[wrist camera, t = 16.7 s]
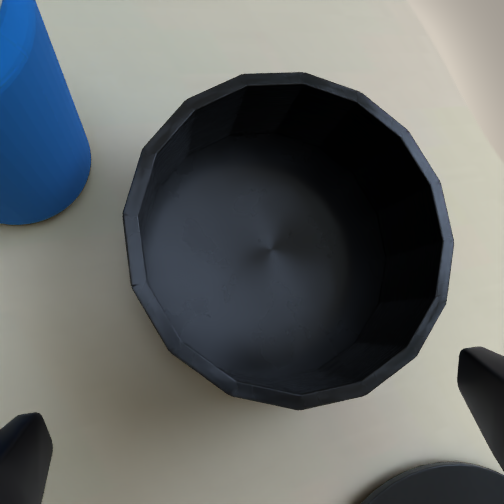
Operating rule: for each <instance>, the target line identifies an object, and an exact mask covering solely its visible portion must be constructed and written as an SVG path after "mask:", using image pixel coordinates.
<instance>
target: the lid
mask: <svg viewBox="0 0 504 504" xmlns="http://www.w3.org/2000/svg"><path fill="white" fill-rule="evenodd" d="M361 504H504V475H502V474H500V473H498V472H496V471H493V470H491V469H489V468H486V467H482V466H479V465H475V464H471V463H463V462H437V463H432V464H427V465H422V466H419V467H416V468H413V469H411V470H408V471H405V472H403V473H401V474H399V475H397V476H396V477H394V478H392V479H390V480H388V481H387V482H386V483H384V484H383V485H381V486H380V487H379V488H377V489H376V490H375V491H373V492H372V493H371V494H370V495H369V496H368V497H367V498H366V499H365V500H364V501H363V502H362V503H361Z"/></svg>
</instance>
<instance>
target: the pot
mask: <svg viewBox="0 0 504 504" xmlns="http://www.w3.org/2000/svg"><path fill="white" fill-rule="evenodd" d="M123 225H124V233H125V241H126V249H127V257H128V265H129V274H130V282H131V286H132V289H133V291H134V293H135V294H136V296H137V298H138V300H139V301H140V303H141V305H142V306H143V308H144V310H145V311H146V313H147V315H148V317H149V318H150V320H151V322H152V323H153V325H154V327H155V328H156V330H157V332H158V334H159V335H160V337H161V339H162V340H163V342H164V344H165V345H166V347H167V349H168V350H169V351H170V352H171V353H172V354H173V355H174V356H176V357H177V358H178V359H180V360H181V361H183V362H184V363H185V364H187V365H188V366H189V367H191V368H192V369H194V370H195V371H196V372H198V373H199V374H200V375H202V376H203V377H205V378H206V379H207V380H209V381H210V382H211V383H213V384H214V385H216V386H217V387H218V388H220V389H221V390H222V391H224V392H225V393H227V394H228V395H230V396H233V397H238V398H242V399H247V400H252V401H256V402H261V403H266V404H271V405H275V406H280V407H285V408H289V409H294V410H304V409H309V408H313V407H318V406H322V405H326V404H331V403H335V402H340V401H344V400H349V399H353V398H358V397H362V396H364V395H367V394H368V393H369V392H371V391H372V390H373V389H375V388H376V387H377V386H379V385H380V384H381V383H383V382H384V381H385V380H386V379H388V378H389V377H390V376H392V375H393V374H394V373H396V372H397V371H398V370H400V369H401V368H402V367H404V366H405V365H406V364H408V363H409V362H410V361H411V360H413V359H414V358H415V357H416V356H417V355H418V353H419V351H420V349H421V348H422V346H423V344H424V342H425V340H426V339H427V337H428V335H429V333H430V332H431V330H432V328H433V326H434V324H435V323H436V321H437V319H438V317H439V315H440V314H441V312H442V310H443V308H444V306H445V305H446V301H447V294H448V286H449V279H450V271H451V263H452V255H453V248H454V239H453V234H452V230H451V226H450V221H449V217H448V212H447V208H446V204H445V199H444V195H443V191H442V186H441V183H440V180H439V179H438V177H437V176H436V174H435V172H434V171H433V169H432V168H431V166H430V164H429V163H428V161H427V160H426V158H425V156H424V155H423V153H422V152H421V150H420V148H419V147H418V145H417V144H416V142H415V140H414V139H413V137H412V136H411V134H410V132H409V131H408V130H407V129H406V128H405V127H403V126H402V125H401V124H400V123H398V122H397V121H396V120H395V119H394V118H392V117H391V116H390V115H389V114H387V113H386V112H385V111H384V110H382V109H381V108H380V107H379V106H377V105H376V104H375V103H374V102H373V101H371V100H370V99H369V98H368V97H366V96H365V95H364V94H363V93H360V92H359V91H356V90H353V89H350V88H348V87H345V86H342V85H339V84H336V83H333V82H331V81H328V80H325V79H322V78H319V77H316V76H313V75H311V74H308V73H303V72H293V73H258V74H241V75H239V76H237V77H235V78H233V79H230V80H228V81H226V82H224V83H222V84H219V85H217V86H215V87H213V88H211V89H208V90H206V91H204V92H202V93H200V94H197V95H195V96H193V97H191V98H188V99H187V100H186V101H184V102H183V104H182V105H181V106H180V107H179V108H178V109H177V110H176V111H175V113H174V114H173V115H172V116H171V117H170V118H169V119H168V120H167V122H166V123H165V124H164V125H163V126H162V127H161V128H160V129H159V131H158V132H157V133H156V134H155V135H154V136H153V137H152V138H151V140H150V141H149V142H148V143H147V144H146V145H145V146H144V148H143V149H142V152H141V155H140V158H139V161H138V165H137V168H136V171H135V174H134V178H133V181H132V184H131V187H130V191H129V194H128V197H127V200H126V204H125V207H124V210H123Z"/></svg>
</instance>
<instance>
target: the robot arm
mask: <svg viewBox="0 0 504 504" xmlns="http://www.w3.org/2000/svg"><path fill="white" fill-rule="evenodd" d="M457 382H458V387H459V390H460V392H461V394H462V396H463V398H464V400H465V402H466V404H467V406H468V407H469V409H470V411H471V413H472V415H473V417H474V419H475V421H476V423H477V425H478V427H479V429H480V431H481V432H482V434H483V436H484V438H485V440H486V442H487V444H488V446H489V448H490V449H491V451H492V453H493V455H494V457H495V458H496V460H497V461H498V463H499V465H500V466H501V468H502V469H503V471H504V356H502V355H500V354H497V353H495V352H493V351H490V350H488V349H486V348H483V347H472V348H465V349H463V350H461V352H460V355H459V364H458V376H457ZM52 452H53V444H52V440H51V437H50V434H49V432H48V429H47V427H46V424H45V422H44V419H43V417H42V415H41V414H40V413H37V412H34V413H28V414H21V415H18V416H16V417H15V418H14V419H13V420H11V421H10V422H9V423H8V424H6V425H5V426H4V427H3V428H2V429H0V504H41V502H42V498H43V493H44V489H45V484H46V480H47V475H48V471H49V466H50V461H51V457H52Z"/></svg>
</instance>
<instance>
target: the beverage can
mask: <svg viewBox="0 0 504 504" xmlns="http://www.w3.org/2000/svg"><path fill="white" fill-rule="evenodd" d="M90 167H91V153H90V147H89V143H88V140H87V137H86V134H85V132H84V129H83V126H82V124H81V121H80V118H79V116H78V113H77V110H76V108H75V105H74V102H73V100H72V97H71V94H70V92H69V89H68V86H67V84H66V81H65V78H64V76H63V73H62V70H61V68H60V65H59V62H58V60H57V57H56V54H55V52H54V49H53V46H52V44H51V41H50V38H49V36H48V33H47V30H46V28H45V25H44V23H43V20H42V17H41V15H40V12H39V9H38V7H37V4H36V1H35V0H0V223H1V224H9V225H22V224H31V223H35V222H40V221H43V220H45V219H48V218H50V217H52V216H55V215H57V214H58V213H60V212H61V211H63V210H64V209H66V208H67V207H68V206H69V205H70V204H72V203H73V201H74V200H75V199H76V198H77V197H78V196H79V194H80V193H81V191H82V190H83V188H84V186H85V184H86V182H87V179H88V176H89V172H90Z"/></svg>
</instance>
